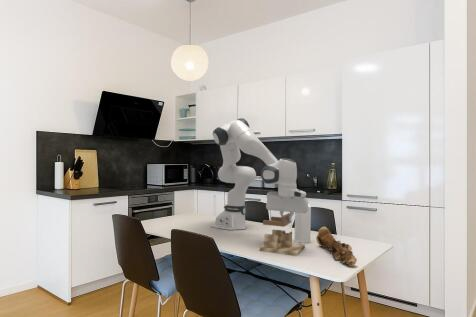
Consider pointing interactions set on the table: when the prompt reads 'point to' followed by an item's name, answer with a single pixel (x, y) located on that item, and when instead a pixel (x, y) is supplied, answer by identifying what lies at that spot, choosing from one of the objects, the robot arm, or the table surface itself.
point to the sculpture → (336, 247)
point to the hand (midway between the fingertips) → (286, 220)
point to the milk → (303, 226)
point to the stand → (281, 243)
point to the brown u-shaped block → (278, 221)
